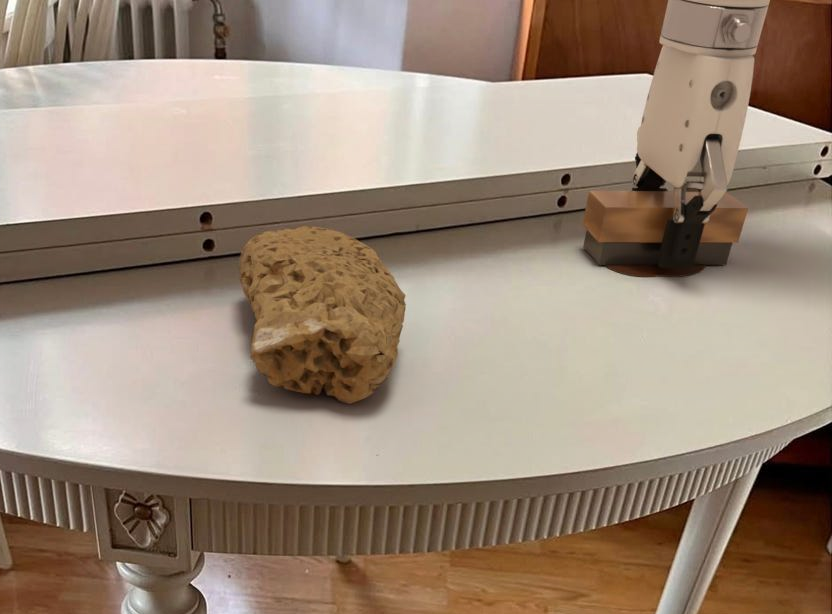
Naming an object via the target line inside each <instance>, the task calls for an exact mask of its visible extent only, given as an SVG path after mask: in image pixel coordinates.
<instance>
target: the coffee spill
mask: <svg viewBox="0 0 832 614" xmlns="http://www.w3.org/2000/svg"><path fill="white" fill-rule="evenodd" d="M603 266H604V267H605V268H607V269H609V270H611V271H614V272H615V273H619V274H622V275H625V276H626V275H627V276H631V277H632V276H633V277H640V278H653V277H671V278H672V277H673V278H675V277H676V278H678V277H688V276H692V275H696V274H698V273H700V272H702V271H704V269H705V267H706V265H693V266H692V267H691V268H660V267H659V266H658V265H603Z"/></svg>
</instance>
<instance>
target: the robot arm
mask: <svg viewBox="0 0 832 614" xmlns="http://www.w3.org/2000/svg"><path fill="white" fill-rule="evenodd" d="M770 1H771V0H667V5H666V9H665V14H664V19H663V22H662V23H663V24H662V26H661V31H660V36H659V41H658V42H659V44H660V45H662V47H661V50H660V53H659V56H658V59H657V62H656V65H655V69H654V72H653V76H652V79H651V83H650V87H649V90H648V93H647V98H646V101H645V105H644V110H643V113H642V117H641V122H640V126H639V127H638V129H637V131H636V154H635V156H634V161H635V167H636V169H635V170H634V172H633V175H632V178H631V183H632V188H631V191H669V190H668V188H667V187H665V185H666V183H667V184H669V185H670V186H672V187H673V191H674V201H673V219H668V220H667V224H666V228H665V232H664V236H663V240H662V244H661V248H660V251H659V255H658V259H657V265H658V266H659V267H660V268H691V267H692V266H693V265H694V262H695V258H696V254H697V251H698V247H699V243H700V240H701V236H702V233H703V229H704V225H705V224H706V223H708V221H709V219H710V214H711V213H712V212H713V211H714V210H715V208H716V207H717V204H718V202H719V201H720V200H721V198H722V197H723V196H724V195H725V193H726V192H727V193H728V187H729V185H728V184H729V183H730V181H731V179H732V175H733V172H734V168H735V165H736V161H737V157H738V153H739V148H740V145H741V141H742V135H743V131H744V127H745V123H746V118H747V113H748V108H749V103H750V98H751V92H752V85H753V78H754V70H755V69H754V68H755V57H754V55H756V54H757V49H758V46H759V42H760V39H761V35H762V31H763V27H764V24H765V20H766V17H767V13H768V10H769V5H770ZM688 177H690V178H691V177H695V178H696V177H697V178H699V177H700V181H694V180H693V181H690V180H689V181H688V180H687V178H688ZM686 192H698V196H694V197H693V198H692V199H691V200H690V201H689V202H688V203H687V204H686Z"/></svg>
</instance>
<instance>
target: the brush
mask: <svg viewBox="0 0 832 614" xmlns="http://www.w3.org/2000/svg"><path fill="white" fill-rule="evenodd" d="M694 196H698V192H686V204H687V203H688V202H689V201H690V200H691V199H692V198H693V197H694ZM673 201H674V190H672V191H671V190H670V191H669V190H668V191H632V190H588V194H587V199H586V204H585V208H584V209H585V210H584V215H583V219H582V226H583V227H584V228H585V230H586V231H585V236H584V241H583V249H584V250H585V251H586V252H587V253H588V254H589V255H590V256H591V258H592V259H593V260H594V261H595V262H596V264H598V265H599V266H604V265H657V259H658V255H659V251H660V248H661V244H662V240H663V236H664V232H665V228H666V224H667V220H668V219H673ZM748 210H749V207H747V206H746V205H745V204H744V203H742V202H741V201H740V200H739V199H737V198H736V197H734V196H732V194H730V193H729V192H728V191H727V192H726V193H725V195H724V196H723V197H722V198H721V200H720V201H719V202H718V204H717V207H716V208H715V210H714V211H713V212H712V213H711V214H710V219H709V221H708V223H706V224H705V225H704V229H703V233H702V236H701V240H700V243H699V247H698V251H697V254H696V258H695V262H694V265H705V266H726V265H727V263H728V260H729V257H730V253H731V250H732V247H733V244H734V243H739V241H740V237H741V234H742V231H743V227H744V224H745V221H746V218H747V214H748Z"/></svg>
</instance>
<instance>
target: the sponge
mask: <svg viewBox="0 0 832 614" xmlns="http://www.w3.org/2000/svg"><path fill="white" fill-rule="evenodd" d="M238 275H239V276H238V277H239V279H238V280H239V282H240V284H241V286H242V287H241V288H242V291H243V293H244V295H245V298H246V299H247V301H248V303H249V304H250V309H251V310H252V313H253V314H254V317H255V319H256V322H255V323H254V325H253V326H254V327H253V333H252V334H253V335H252V338H251V341H250V342H251V343H250V350H251V352H250V359H251V360H252V361H253V362H254V365H255V367H256V369H257V370H258V371H259V372H260V373H261V374H262V375H263V376H266V377H267V382H268V383H269V384H270V385H271V386H273V387H275V388H278V387H283V388H284V389H285V390H289V391H293V392H297V393H302V394H312V393H313V394H315V395H316V396H318V395H320V394H321V392H322V390H323V389H324V391H325V394H326V395H327V396H331V397H334V398H335V399H337V400H338V401H339V402H341V403H345V404H348V405H351V404H353V403H356V402H358V401H361V400H363V399H366V398H368V397H369V396H371V395H372V394H374V391H373V390H375V389H377V388H380V387H382V384H381V383H383V381H384V380H385V379H387V378H388V377H389V375H390V372H391V370H393V368H394V365H395V363H396V361H397V357H398V354H399V353H398V352H399V351H398V345H399V343H400V341H401V340H400V337H401V334H402V331H403V327H404V324H403V323H404V322H405V312H406V307H407V304H406V301H405V299H406V294H405V293H404V292H403V291H402V290H401V288H400V286H399V284H398V283H397V281H396V280H395V277H394V276H393V275H392V274H391V272H390V270H389V269H388V267H387V266H384V264H383V261H382V260H381V259H380V257H379V256H378V254H377V252H376V251H375V250H374V249H373V248H372V247H370V246H368V245H367V244H365V243H363V242H361V241H359V240H358V239H356V238H354V237H352V236H350V235H347V234H346V233H343V232H341V231H337V230H334V229H330V228H326V227H319V226H314V225H313V226H306V225H302V226H300V227H297V228H295V229H292V228H285V229H277V230H267V231H264V232H260V233H257V234H256V235H254V236H252V238H251V239H249V240H248V241H247V243H246V244H245V246H243V247H242V249H241V253H240V257H239V263H238Z"/></svg>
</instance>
